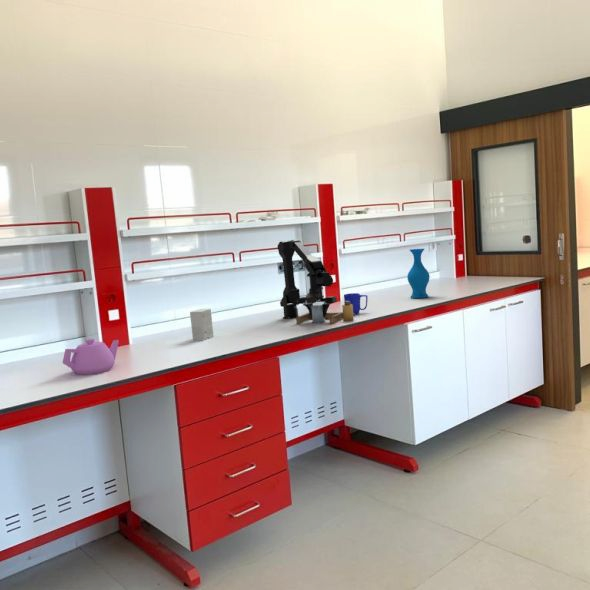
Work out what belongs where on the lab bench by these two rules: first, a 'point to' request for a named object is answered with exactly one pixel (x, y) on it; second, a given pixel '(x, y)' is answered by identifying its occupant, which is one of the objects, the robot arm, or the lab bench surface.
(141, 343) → the lab bench surface
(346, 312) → the reagent bottle
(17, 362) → the lab bench surface
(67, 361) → the teapot
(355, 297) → the mug
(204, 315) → the small box
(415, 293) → the vase
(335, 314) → the cradle
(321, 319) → the pale blue canister
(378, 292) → the lab bench surface
